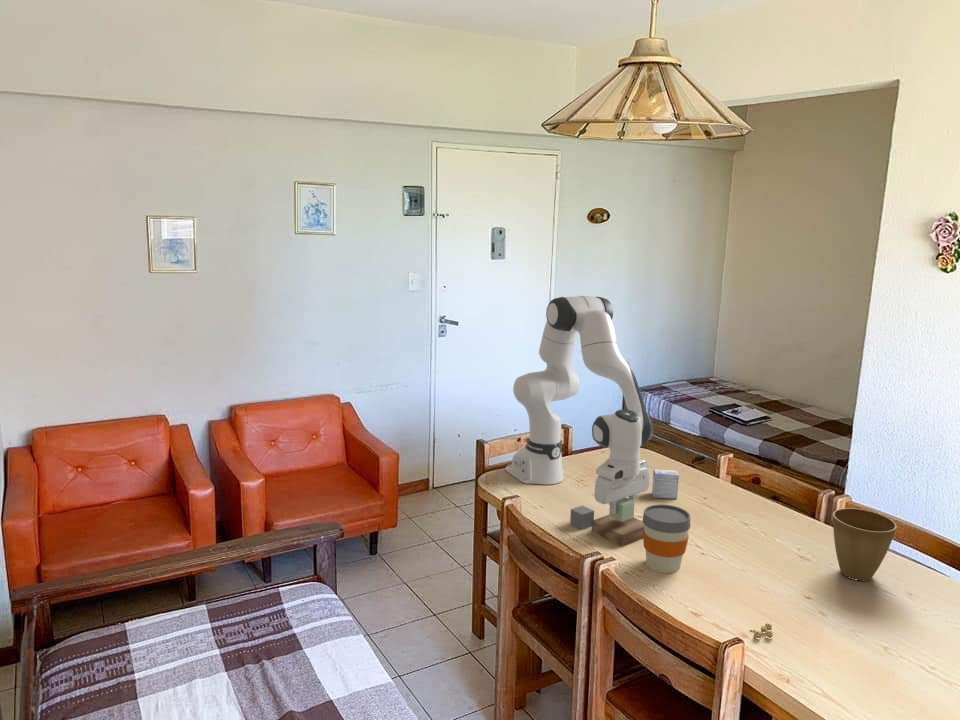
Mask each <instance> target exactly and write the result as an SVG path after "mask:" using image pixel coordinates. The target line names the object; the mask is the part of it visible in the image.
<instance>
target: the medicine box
mask: <svg viewBox="0 0 960 720" xmlns="http://www.w3.org/2000/svg"><path fill="white" fill-rule="evenodd" d="M652 473H653V475H652V486H651V487H652V488H651V492H652V493H651V494H652V497H653V499H671V500H672V499H675V500H676V499H678V494H679V481H680V475H679V473H678V471H677V470H672V469H653V472H652Z"/></svg>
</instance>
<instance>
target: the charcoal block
mask: <svg viewBox="0 0 960 720" xmlns="http://www.w3.org/2000/svg"><path fill="white" fill-rule="evenodd" d="M569 519H570V520H569V525H571V526H573V527H575V528H577V529H579V530H581V531H583V530H586V529H589V528H592V520H595V510H593V509H591V508H589V507H587V506H584V505H580V506H579V505H578V506H576V507H574V508H570V518H569Z"/></svg>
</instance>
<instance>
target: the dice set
mask: <svg viewBox="0 0 960 720" xmlns="http://www.w3.org/2000/svg"><path fill="white" fill-rule="evenodd" d="M764 624H765V626H764V625H760V630H761V632H766V634H765V637H766V636H767V637H769V638H771V637H772V638H773V632H772V629H773V624H771V623H770V622H765V623H764ZM766 629H767V630H771V631H766ZM760 630H759V631H758V630H755V631H754V630H753V631H754V632H753V638H754V637H756V638H762V633H761V632H760Z"/></svg>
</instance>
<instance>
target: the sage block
mask: <svg viewBox="0 0 960 720" xmlns="http://www.w3.org/2000/svg"><path fill="white" fill-rule="evenodd" d="M615 505H616V507H618V513H616V514H612V513H611V512H610V510H611V507H610V506H609V514H608V515H609V516H611V517H613V518H615V519H618V520H620V521H625V520H628V519H630V518H633V517H634V516H635V500H634V501H632V500H630V499H628V497H626V498H623V499H620V500H617V503H616V504H615ZM634 518H635V517H634Z"/></svg>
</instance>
